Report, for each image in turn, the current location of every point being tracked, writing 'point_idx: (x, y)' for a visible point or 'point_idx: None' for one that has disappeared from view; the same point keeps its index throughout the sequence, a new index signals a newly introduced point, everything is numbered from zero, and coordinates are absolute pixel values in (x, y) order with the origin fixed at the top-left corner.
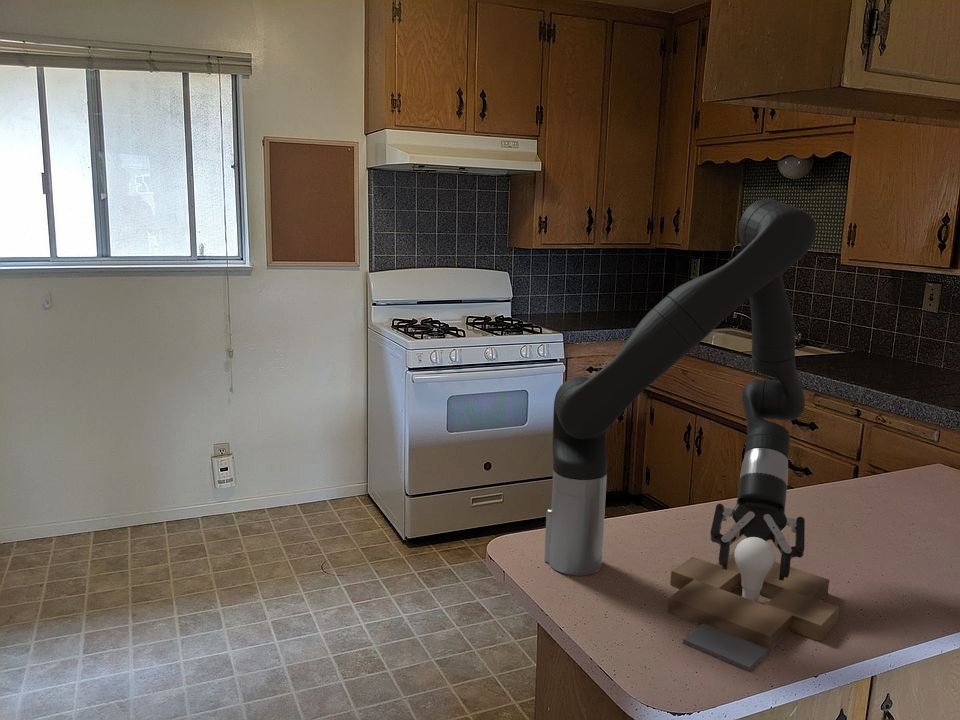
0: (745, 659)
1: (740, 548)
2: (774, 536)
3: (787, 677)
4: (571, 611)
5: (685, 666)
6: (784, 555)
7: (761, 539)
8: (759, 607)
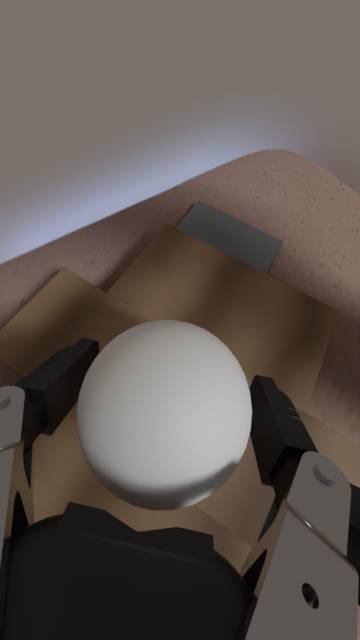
0: (201, 213)
1: (240, 367)
2: (14, 486)
3: (153, 202)
4: None
5: (270, 204)
6: (38, 381)
7: (130, 410)
8: (165, 309)
